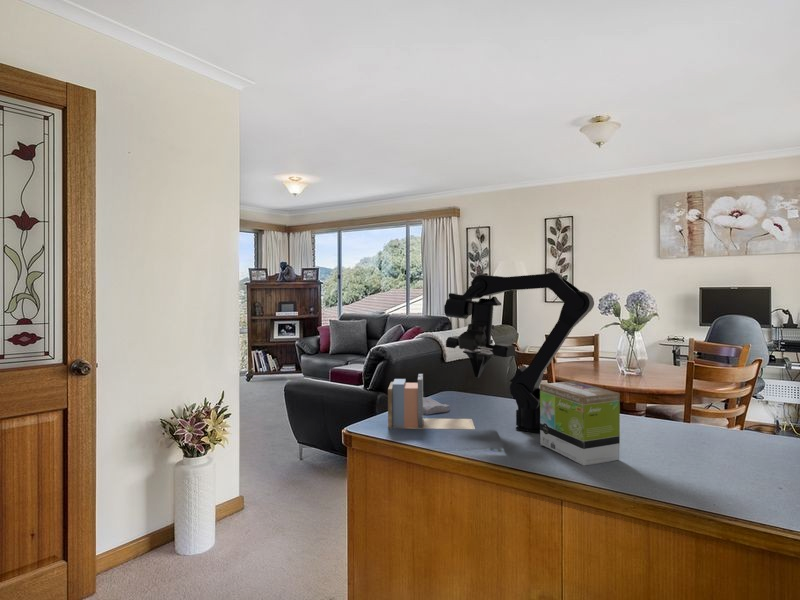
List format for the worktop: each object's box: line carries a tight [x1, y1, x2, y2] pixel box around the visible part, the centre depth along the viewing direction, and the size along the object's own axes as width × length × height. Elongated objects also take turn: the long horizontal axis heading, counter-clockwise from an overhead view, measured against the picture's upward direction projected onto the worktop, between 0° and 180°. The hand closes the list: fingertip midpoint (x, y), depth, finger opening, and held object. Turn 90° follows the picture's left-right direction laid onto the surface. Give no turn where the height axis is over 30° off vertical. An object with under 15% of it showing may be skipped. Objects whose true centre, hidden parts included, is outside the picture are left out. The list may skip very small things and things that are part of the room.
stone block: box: [423, 396, 450, 415], centre depth 149 cm, size 12×5×10 cm
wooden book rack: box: [387, 381, 476, 430], centre depth 132 cm, size 22×10×11 cm, turn 86°
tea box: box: [539, 380, 621, 467], centre depth 112 cm, size 15×10×15 cm, turn 21°
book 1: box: [392, 378, 407, 427], centre depth 133 cm, size 3×8×11 cm, turn 177°
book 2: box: [404, 382, 418, 427], centre depth 133 cm, size 4×8×10 cm, turn 177°
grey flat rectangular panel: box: [417, 373, 424, 427], centre depth 132 cm, size 1×9×12 cm, turn 177°
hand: (477, 377), depth 138 cm, fingers closed
